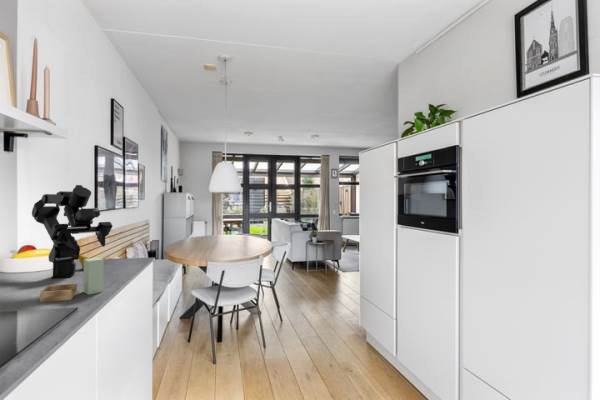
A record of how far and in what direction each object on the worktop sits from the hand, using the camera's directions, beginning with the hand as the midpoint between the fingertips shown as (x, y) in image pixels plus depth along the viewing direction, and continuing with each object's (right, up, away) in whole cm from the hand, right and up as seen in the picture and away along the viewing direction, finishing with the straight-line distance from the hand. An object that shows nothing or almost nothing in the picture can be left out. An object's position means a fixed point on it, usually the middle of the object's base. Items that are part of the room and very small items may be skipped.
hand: (90, 247), depth 114 cm
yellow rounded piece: (-19, -13, +26) cm, 35 cm away
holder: (-2, -14, -12) cm, 19 cm away
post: (+5, -14, -6) cm, 16 cm away
